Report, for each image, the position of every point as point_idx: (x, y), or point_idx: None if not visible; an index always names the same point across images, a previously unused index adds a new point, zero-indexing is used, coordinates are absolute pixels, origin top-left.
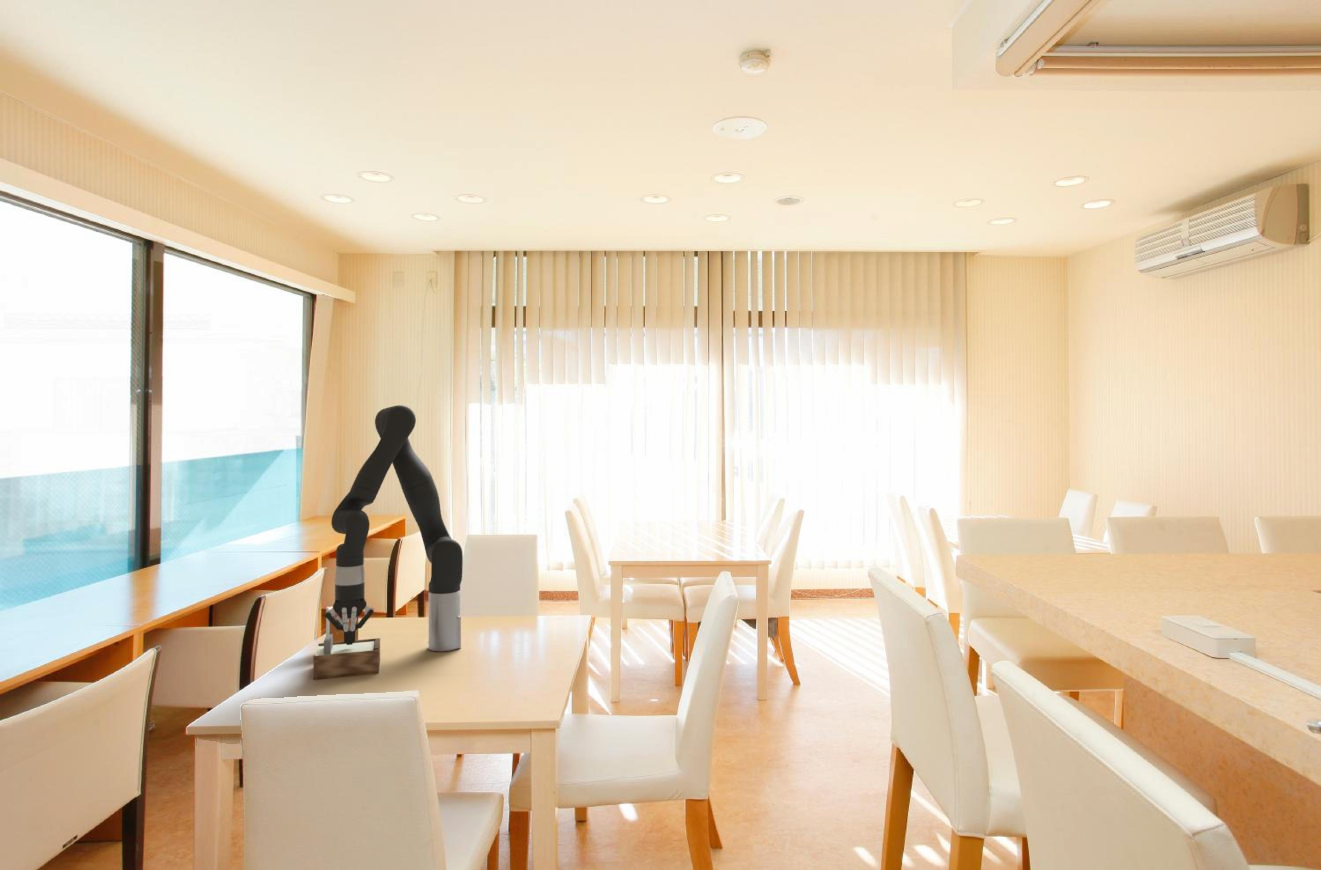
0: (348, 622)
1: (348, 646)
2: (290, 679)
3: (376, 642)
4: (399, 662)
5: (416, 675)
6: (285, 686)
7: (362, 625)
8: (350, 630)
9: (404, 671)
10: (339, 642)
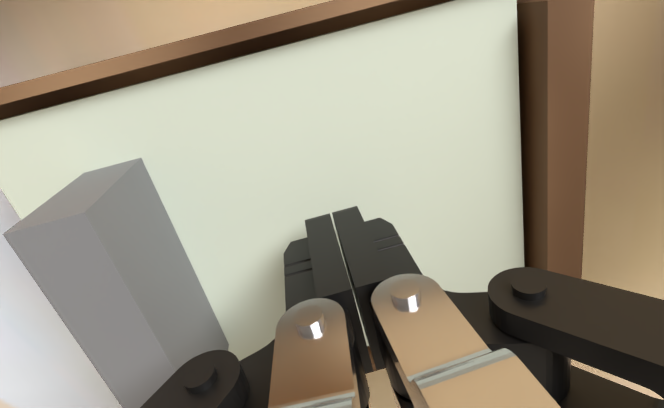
0: (358, 404)
1: (298, 158)
2: (47, 313)
3: (560, 153)
4: (596, 54)
5: (658, 269)
6: (93, 391)
7: (572, 388)
8: (385, 364)
9: (612, 216)
10: (158, 61)
